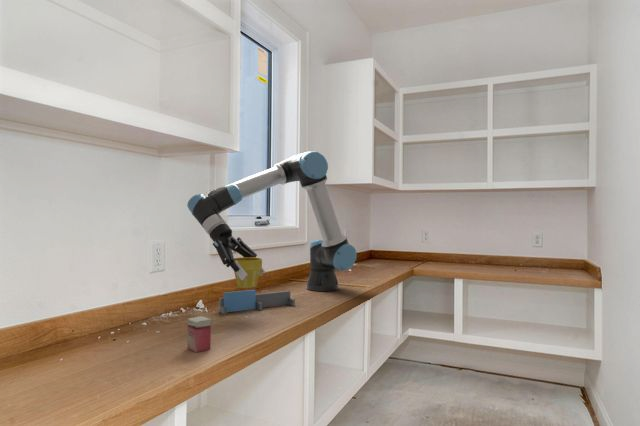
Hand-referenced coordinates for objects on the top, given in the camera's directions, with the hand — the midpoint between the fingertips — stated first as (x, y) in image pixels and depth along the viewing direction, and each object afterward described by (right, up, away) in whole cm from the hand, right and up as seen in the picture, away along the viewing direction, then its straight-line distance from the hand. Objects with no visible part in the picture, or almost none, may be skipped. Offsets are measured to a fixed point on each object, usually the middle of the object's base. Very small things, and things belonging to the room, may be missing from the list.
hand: (254, 275), depth 143 cm
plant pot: (-3, -4, +1) cm, 5 cm away
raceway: (0, -14, +11) cm, 18 cm away
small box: (-9, -14, -35) cm, 39 cm away
